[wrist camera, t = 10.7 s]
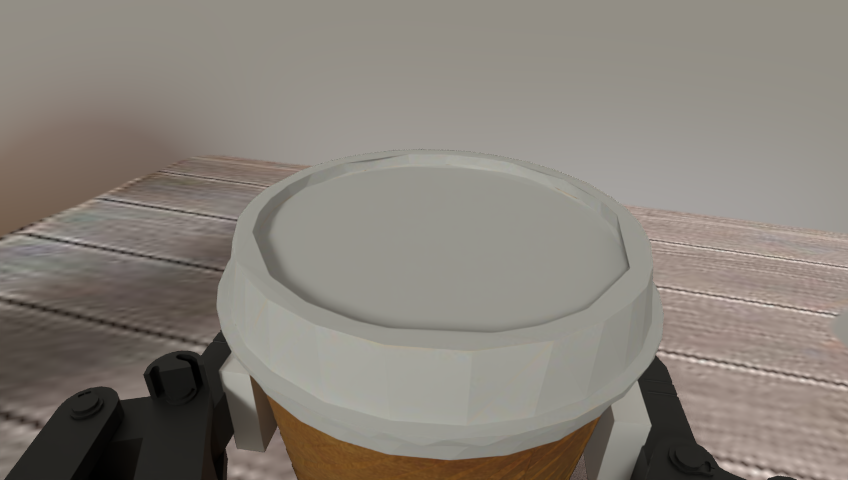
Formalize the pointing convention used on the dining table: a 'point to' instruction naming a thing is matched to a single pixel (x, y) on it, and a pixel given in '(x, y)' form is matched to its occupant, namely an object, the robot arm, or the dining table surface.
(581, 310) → the disposable coffee cup
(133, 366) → the dining table surface
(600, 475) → the robot arm
